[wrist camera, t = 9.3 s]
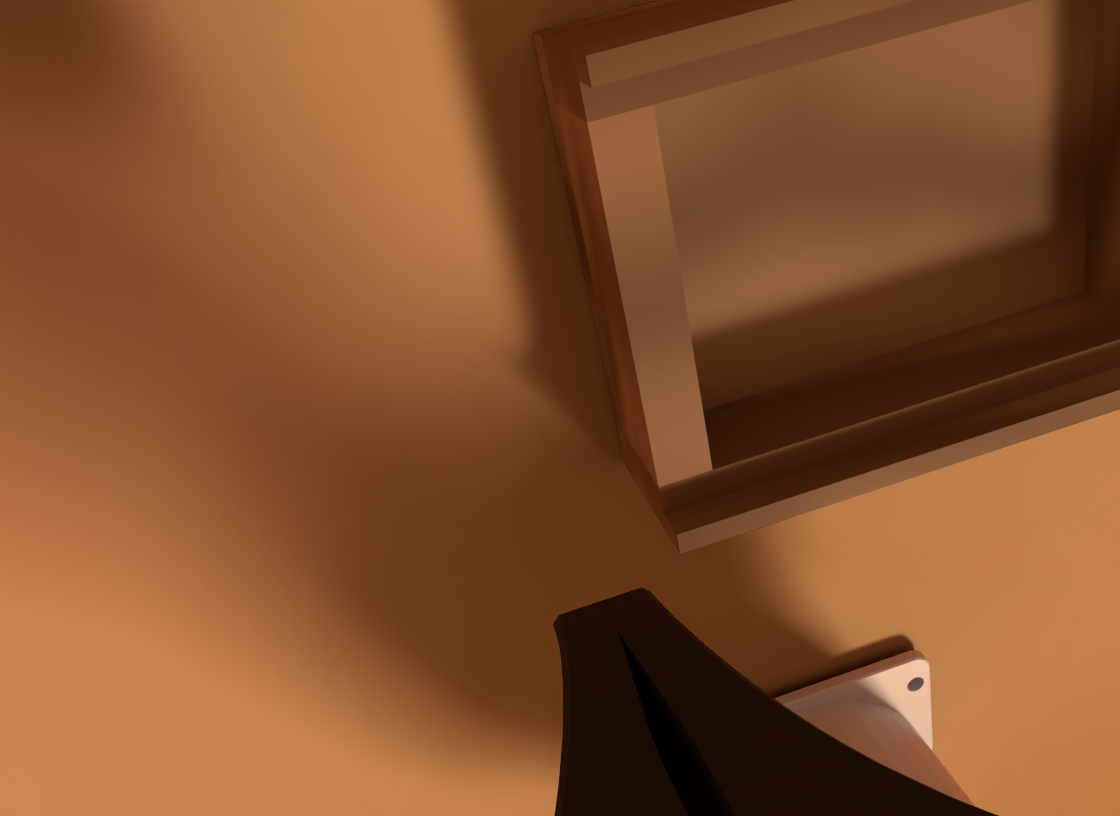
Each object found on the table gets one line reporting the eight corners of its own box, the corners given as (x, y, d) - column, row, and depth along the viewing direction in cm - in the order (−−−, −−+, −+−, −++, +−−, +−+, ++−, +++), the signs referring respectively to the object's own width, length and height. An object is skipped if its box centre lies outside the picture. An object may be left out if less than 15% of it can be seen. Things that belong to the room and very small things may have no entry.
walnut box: (1100, 311, 25) (1231, 372, 22) (624, 462, 24) (680, 554, 20) (1126, -123, 20) (1298, -134, 17) (532, 33, 19) (585, 55, 15)
